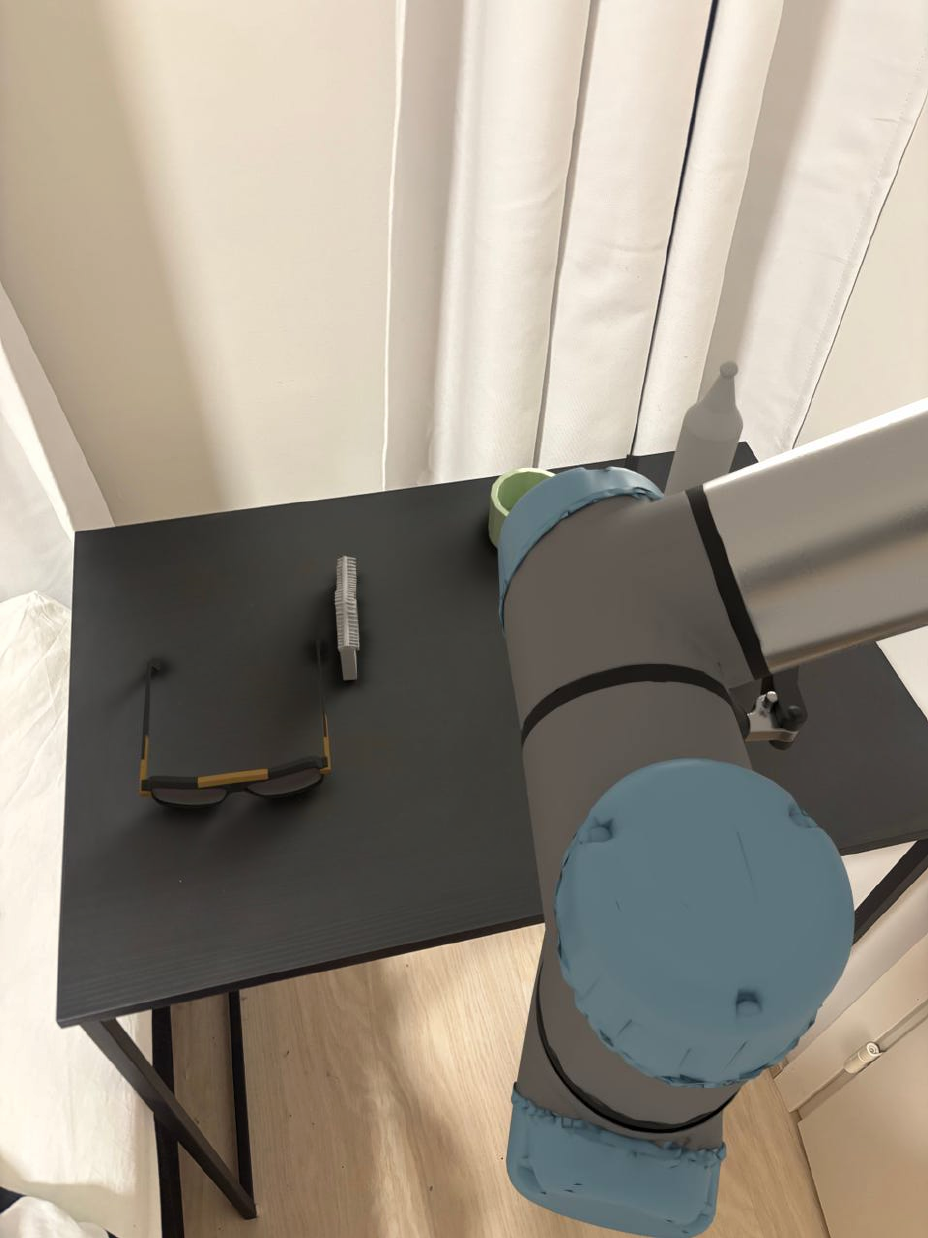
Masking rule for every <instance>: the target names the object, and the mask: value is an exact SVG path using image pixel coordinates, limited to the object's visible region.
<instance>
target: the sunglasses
mask: <svg viewBox="0 0 928 1238" xmlns="http://www.w3.org/2000/svg"><path fill="white" fill-rule="evenodd" d="M315 644H316V645H315V646H316V658H317V667H318V679H319V693H320V694H319V695H320V704H321V725H322V736H323V745H324V747H323V749H324V756H318V755H309V756H304V757H301V758H298V759H294V760H291V761H288V762H285V763H281V764H277V765H273V766H270V767H266V768H261V769H253V770H244V771H243V770H242V771H236V772H228V773H221V774H213V775H206V776H178V775H177V776H176V775H150V776H149V777H148V778H147V774H148V773H147V772H148V756H149V754H148V753H149V729H150V713H151V712H150V709H151V680H152V679H151V678H152V677H151V676H152V670H153V671H156V672H158V671H161V664H160V659H159V658H158V657H150V658H148V660H147V664H146V674H145V675H146V676H145V691H144V706H143V720H142V721H143V723H142V734H141V735H142V737H141V757H140V770H139V787H138V796H141V798H147V797H151V798H152V799H153V800H154V801H155V803H157V804H158V805H160V806H164V807H169V808H174V809H183V810H185V809H205V808H209V807H214V806H218V805H220V804H223V802H224V801H225V800H227V798H228V797H229V796H230V795H231V794H235V793H242V792H244V793H246V794H250V795H253V796H254V797H259V798H262V799H282V798H286V797H291V796H295V795H300V794H303V793H305V792H308V791H311V790H313V789H315V788H317V787H319V786H320V785H322V784H323V783H324V780H325V775H326V774H331V773H332V772H331V771H332V768H331V755H330V743H329V742H330V741H329V740H330V739H329V730H328V717H327V715H326V706H325V705H326V704H325V693H324V682H323V671H322V660H321V654H322V644H321V639H319V638H318V639H316V643H315Z"/></svg>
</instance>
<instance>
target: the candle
mask: <svg viewBox="0 0 928 1238" xmlns="http://www.w3.org/2000/svg"><path fill="white" fill-rule="evenodd" d="M719 372H720V373H719V375H718V376H717V378H716V379H715V380H714V382H713V383H712V385H711V387H710V388H709V390H708V391H707V392H706V394H705V395H704V396H703V397H702V398H701V399H699V400H697V401H695V403H693V404H692V405H691V406H690V407H689V408H688V409H686V412H685V414H684V416H683V420H682V423H681V428H680V431H679V434H678V435H679V436H678V439H677V443H676V447H675V451H674V454H673V459H672V462H671V466H670V470H669V474H668V478H667V482H666V485H665V489H664V493H663V494H664V496H665V497H668V496H671V495H674V494H676V493H679V492H682V491H685V490H688V489H691V488H693V487H696V486H699V485H701V484H703V483H706V482H709V481H711V480H714V479H716V478H719V477H722V476H724V475H727V474H730V469H731V466H732V463H733V461H734V457H735V454H736V451H737V448H738V445H739V442H740V439H741V436H742V432H743V429H744V420H743V417H742V414H741V413H740V410H739V408H738V406H737V405H736V404H737V403H736V389H735V388H736V386H735V376H737V374H738V373H739V366H738V364H737V363H736V362H735V361H734V360H731V359H730V360H729V359H728V360H726V361H724V362H722V363H721V365H720V366H719Z"/></svg>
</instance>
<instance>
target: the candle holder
mask: <svg viewBox="0 0 928 1238" xmlns="http://www.w3.org/2000/svg"><path fill="white" fill-rule="evenodd" d="M556 474H557V473H556ZM556 474H555V473H553V472H551V471H549V470H546V469H542V468H534V467H521V468H516V469H512V470H509V471H507V472H506V473H503V474H501V475H500V476H499V477H498V478H497V479H496V480H495V482H494V483H493V484H492V486H491V492H490V501H489V502H490V503H489V512H488V513H489V515H488V528H487V529H488V536H489V540H490V541H491V543H492V544H493V546H494V547H495V548H496V549H497V550H498V542H499V537H500V532H501V528H502V526H503V523H504V521H505V519H506V517H507V515H508V514H509V512H510V511H511V509H512V508H513V506H514V505H515V504H516V503H517V501H518V500H519V499H520V498H521V497H522V496H523V495H524V494H526V493H527V492H528V491H529V490H530V489H532V488H533V487H534V486H536V485H537V484H538V483H540V482H542V481H544V480H545V479H547V478H549V477H551V476H554V475H556Z"/></svg>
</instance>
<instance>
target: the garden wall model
mask: <svg viewBox="0 0 928 1238" xmlns="http://www.w3.org/2000/svg"><path fill="white" fill-rule="evenodd" d="M336 560H337V563H336V564H337V565H336V590H335V591H334V601H335V602H334V605H335V617H336V618H335V619H336V634H337V635H336V636H337V649H338V652H339V653H340V661H341V670H342V677H343V681H353V680H357V679H358V671H357V670H358V669H357V667H358V666H357V652H359V651H360V633H359V632H360V631H359V630H360V629H359V614H358V602H357V568H356V567H357V565H356V564H357V561H356V560H357V559H356V557H349V556H346V555H343V556H342V557H341V558H337V559H336Z"/></svg>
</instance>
